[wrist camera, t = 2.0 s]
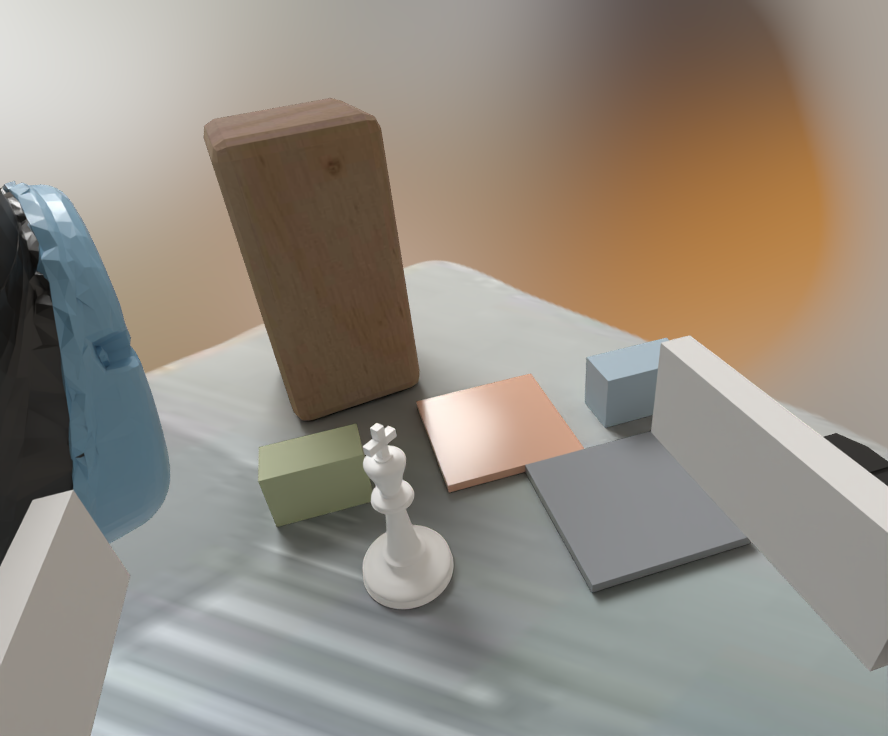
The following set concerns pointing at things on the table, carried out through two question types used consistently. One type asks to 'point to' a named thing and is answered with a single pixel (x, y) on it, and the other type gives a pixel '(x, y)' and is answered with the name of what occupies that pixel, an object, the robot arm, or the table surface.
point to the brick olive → (314, 475)
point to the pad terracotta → (494, 431)
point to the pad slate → (630, 510)
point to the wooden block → (319, 249)
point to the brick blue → (623, 383)
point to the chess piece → (400, 534)
